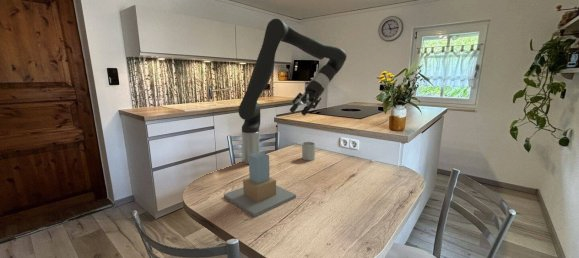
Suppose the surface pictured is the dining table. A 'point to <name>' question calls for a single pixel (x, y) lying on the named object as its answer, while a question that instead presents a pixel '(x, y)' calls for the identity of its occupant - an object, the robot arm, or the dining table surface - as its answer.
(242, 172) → the dining table surface
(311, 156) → the cup
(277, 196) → the tower base
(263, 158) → the tower block
